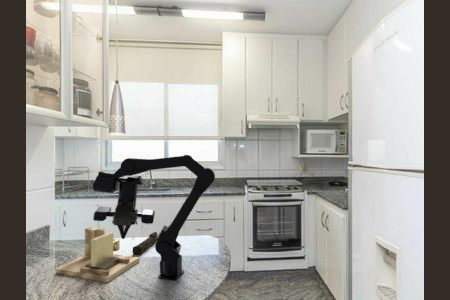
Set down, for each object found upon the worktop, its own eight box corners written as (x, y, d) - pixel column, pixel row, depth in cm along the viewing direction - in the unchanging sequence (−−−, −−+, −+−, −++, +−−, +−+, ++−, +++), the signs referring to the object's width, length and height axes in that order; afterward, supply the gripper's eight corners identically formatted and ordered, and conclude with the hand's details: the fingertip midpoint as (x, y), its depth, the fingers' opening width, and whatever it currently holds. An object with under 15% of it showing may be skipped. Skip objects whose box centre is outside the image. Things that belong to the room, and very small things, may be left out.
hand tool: (140, 256, 98) (141, 244, 98) (131, 255, 99) (132, 244, 99) (162, 240, 116) (162, 231, 116) (154, 240, 117) (154, 230, 117)
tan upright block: (125, 258, 91) (125, 230, 92) (101, 272, 80) (101, 240, 81) (110, 256, 93) (110, 229, 94) (85, 269, 82) (85, 238, 83)
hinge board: (139, 261, 92) (139, 229, 93) (108, 282, 77) (108, 244, 77) (93, 255, 99) (94, 225, 99) (56, 273, 83) (56, 237, 84)
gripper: (89, 201, 72) (85, 250, 74) (154, 206, 76) (148, 252, 78) (100, 189, 82) (96, 232, 84) (157, 194, 86) (152, 235, 88)
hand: (123, 238), depth 83 cm, fingers closed
